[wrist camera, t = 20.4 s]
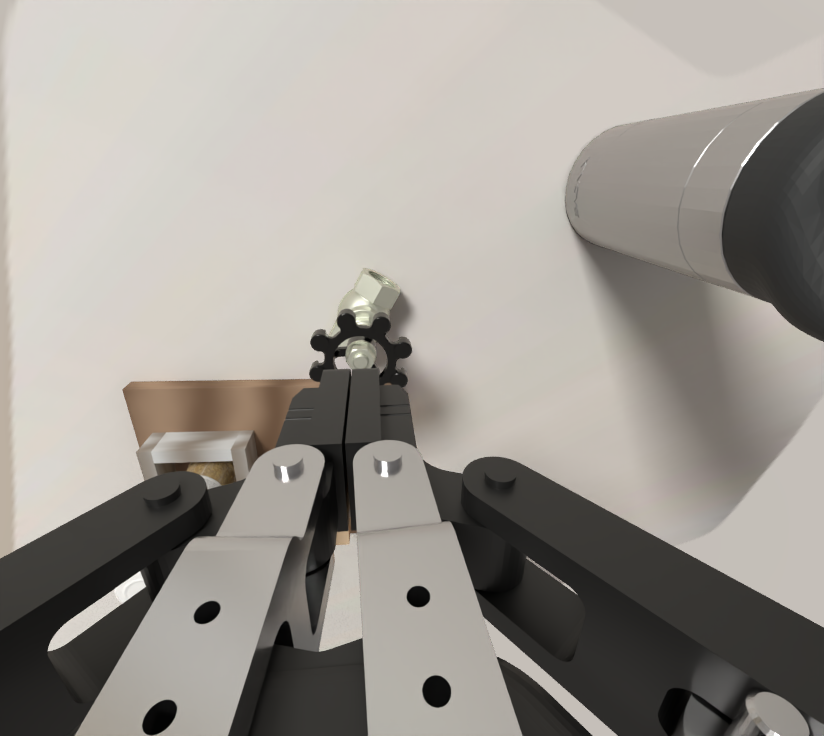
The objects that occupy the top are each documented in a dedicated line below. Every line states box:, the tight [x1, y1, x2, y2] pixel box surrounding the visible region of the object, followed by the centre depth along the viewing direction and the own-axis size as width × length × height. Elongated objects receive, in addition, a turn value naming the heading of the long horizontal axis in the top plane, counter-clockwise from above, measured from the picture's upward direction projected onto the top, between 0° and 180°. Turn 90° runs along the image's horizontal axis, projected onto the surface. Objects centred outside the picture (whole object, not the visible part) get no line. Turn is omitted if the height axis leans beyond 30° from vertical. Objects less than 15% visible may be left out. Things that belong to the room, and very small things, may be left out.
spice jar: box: [114, 461, 236, 604], centre depth 35 cm, size 5×5×13 cm
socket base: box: [123, 379, 391, 545], centre depth 39 cm, size 24×18×9 cm
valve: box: [309, 268, 412, 388], centre depth 32 cm, size 7×7×12 cm
